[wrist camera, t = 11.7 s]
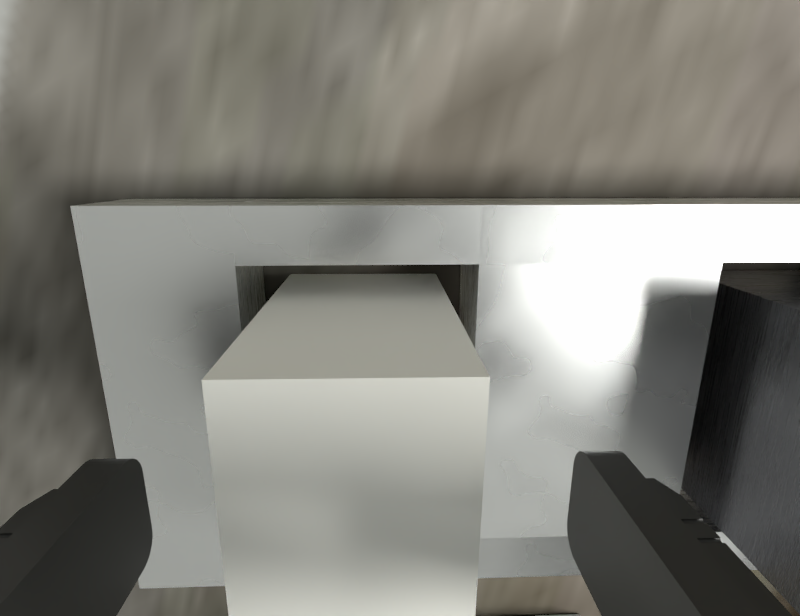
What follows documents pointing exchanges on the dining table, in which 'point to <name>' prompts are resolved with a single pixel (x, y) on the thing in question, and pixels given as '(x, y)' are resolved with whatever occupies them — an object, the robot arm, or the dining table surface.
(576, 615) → the tray
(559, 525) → the grey fixture base
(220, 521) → the plug
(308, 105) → the dining table surface
